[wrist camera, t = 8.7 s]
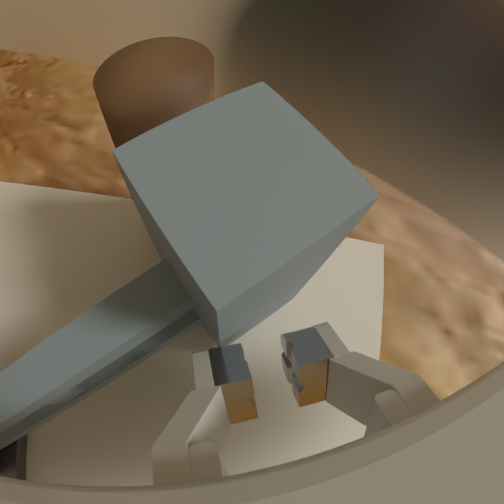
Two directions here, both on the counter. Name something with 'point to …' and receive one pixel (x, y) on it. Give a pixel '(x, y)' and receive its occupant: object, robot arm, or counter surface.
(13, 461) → the hinge foot
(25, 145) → the counter surface
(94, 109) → the counter surface
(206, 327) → the gate
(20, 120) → the counter surface
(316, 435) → the mat
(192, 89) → the post
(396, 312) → the counter surface
